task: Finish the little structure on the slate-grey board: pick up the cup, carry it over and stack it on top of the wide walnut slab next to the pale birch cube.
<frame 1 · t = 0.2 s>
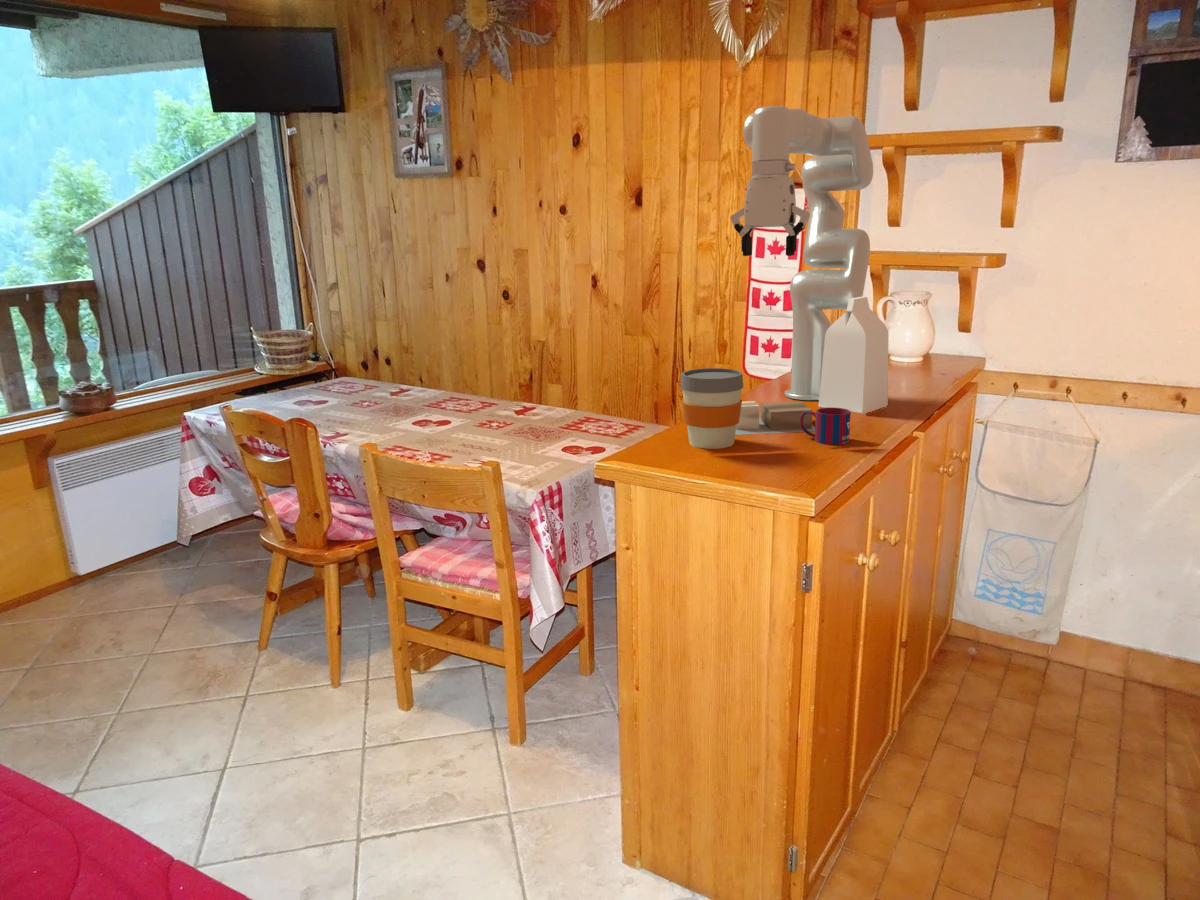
hand: (768, 255, 179), 37 cm above the table, tool pointing down, fingers open, 9 cm apart
walnut slab: (785, 424, 186), point 1 cm above the table, touching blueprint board
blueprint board: (769, 427, 186), on the table
milk: (852, 408, 202), on the table
birch cube: (745, 426, 186), point 1 cm above the table, touching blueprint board
cup: (824, 443, 173), on the table
reusable coffee cup: (711, 446, 173), on the table
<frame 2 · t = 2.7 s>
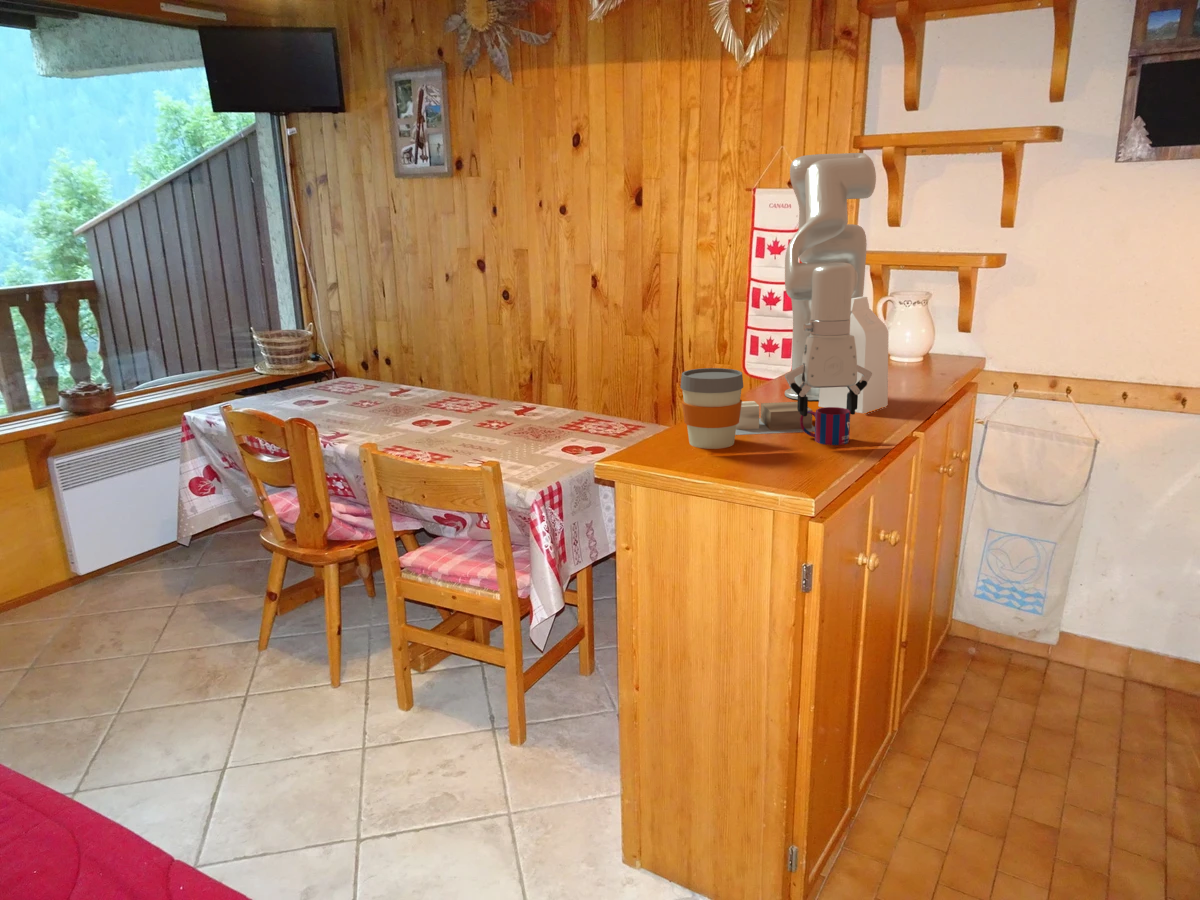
hand: (827, 414, 170), 6 cm above the table, tool pointing down, fingers open, 9 cm apart
cup: (824, 443, 173), on the table, touching gripper
everything else where it was.
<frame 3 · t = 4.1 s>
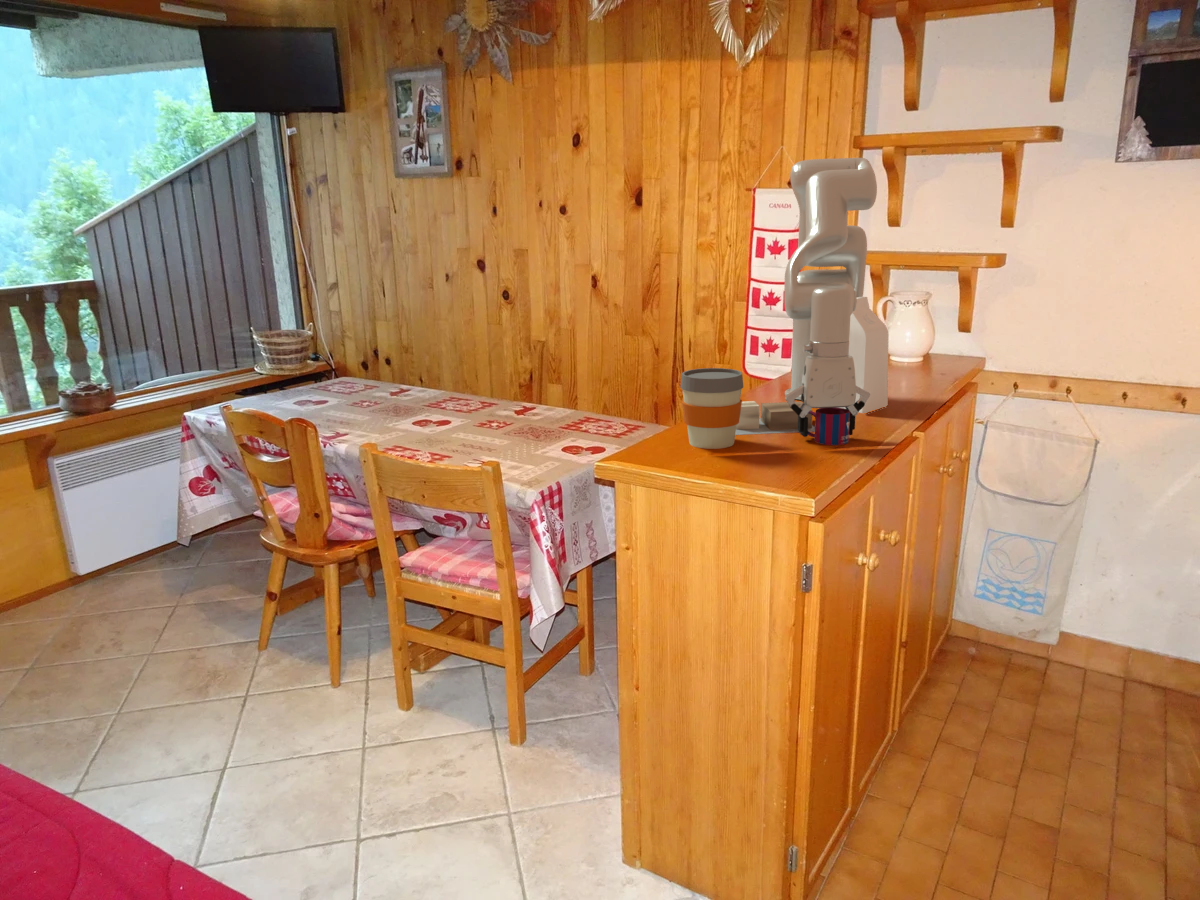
hand: (825, 434, 172), 2 cm above the table, tool pointing down, fingers closed on cup, 8 cm apart
cup: (823, 443, 173), on the table, touching gripper
everything else where it was.
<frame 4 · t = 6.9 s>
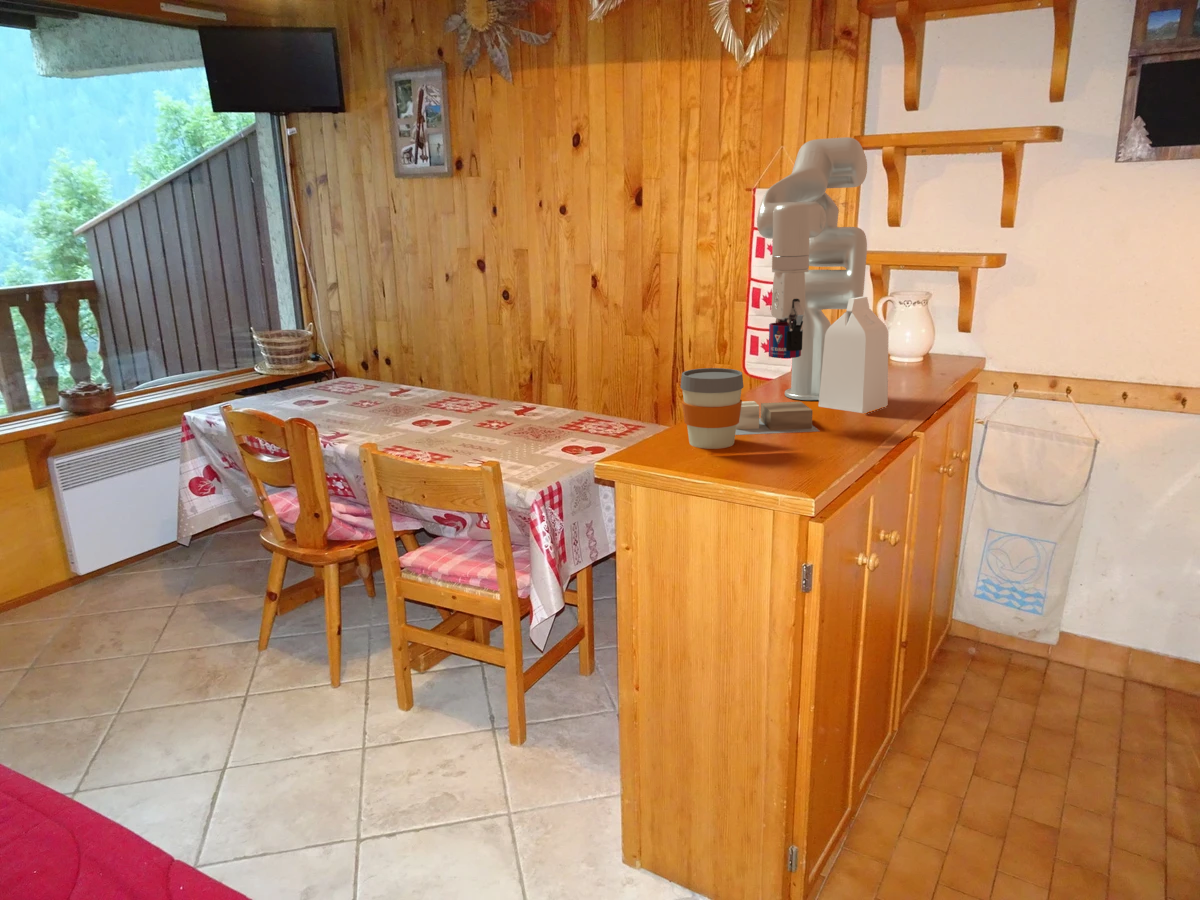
hand: (788, 346, 181), 18 cm above the table, tool pointing down, fingers closed on cup, 8 cm apart
cup: (788, 355, 182), point 16 cm above the table, touching gripper
everything else where it was.
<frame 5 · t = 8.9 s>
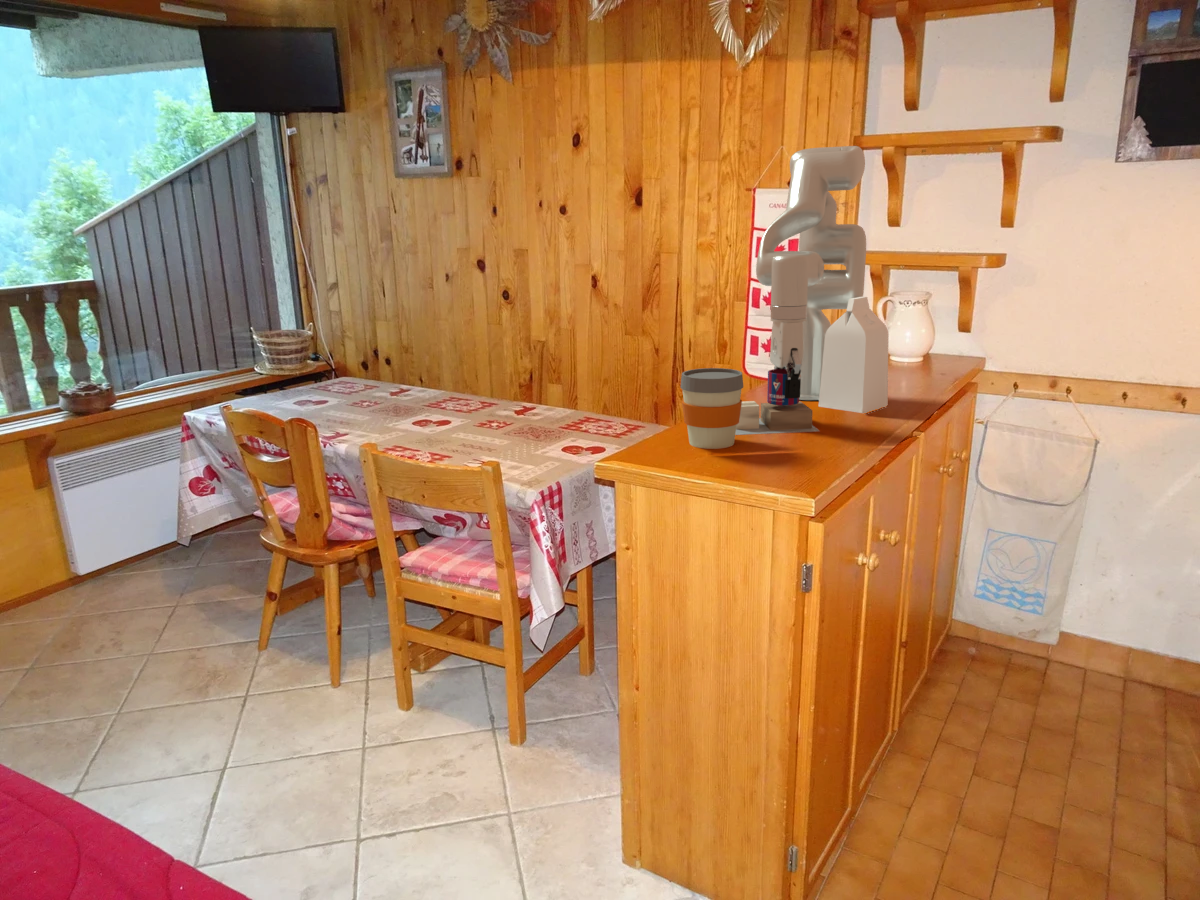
hand: (786, 393, 184), 8 cm above the table, tool pointing down, fingers closed on cup, 8 cm apart
cup: (786, 401, 185), point 6 cm above the table, touching gripper
everything else where it was.
when the fingers open (7 cm above the table, at t = 9.9 s): cup drops 1 cm, resting on walnut slab.
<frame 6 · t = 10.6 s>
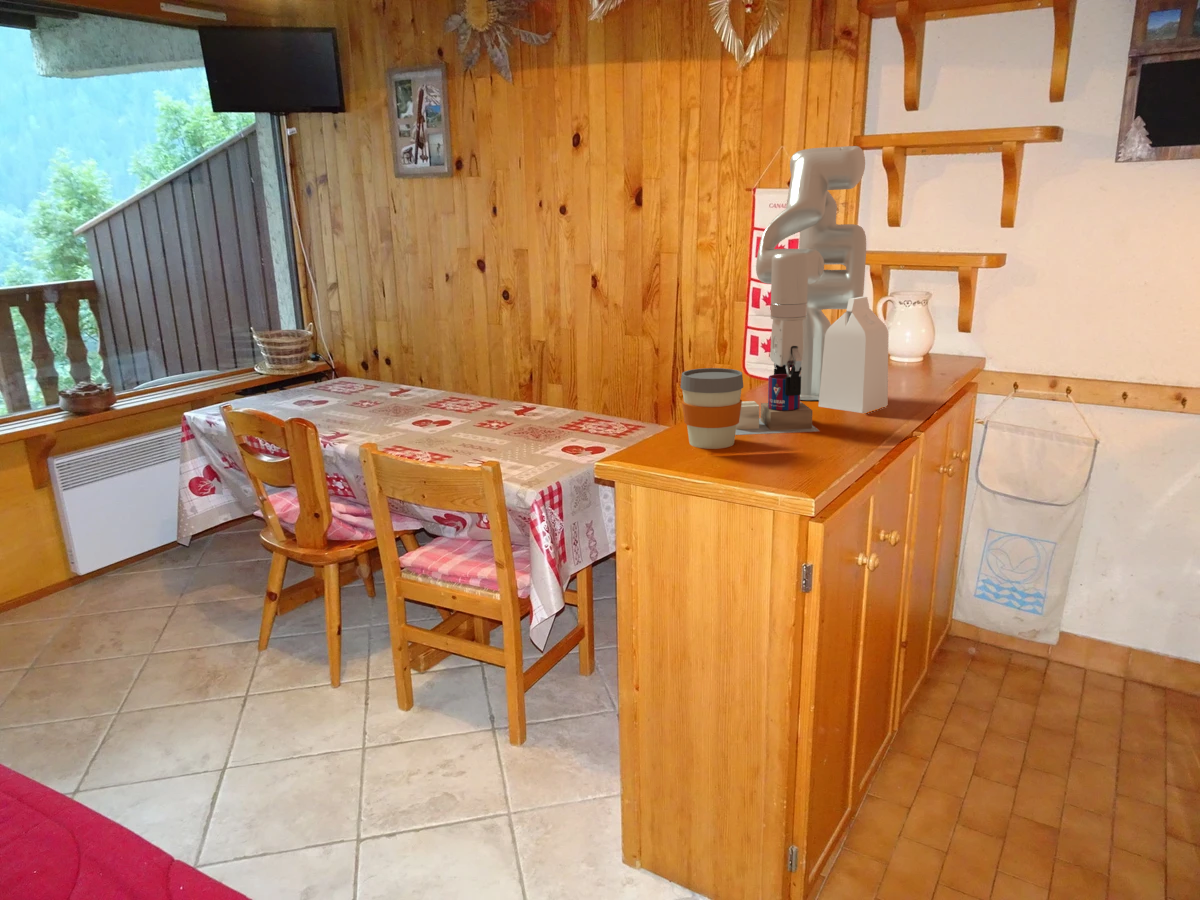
hand: (786, 390, 184), 8 cm above the table, tool pointing down, fingers open, 9 cm apart
walnut slab: (785, 424, 186), point 1 cm above the table, touching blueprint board, cup
cup: (787, 407, 185), point 4 cm above the table, touching gripper, walnut slab
everything else where it was.
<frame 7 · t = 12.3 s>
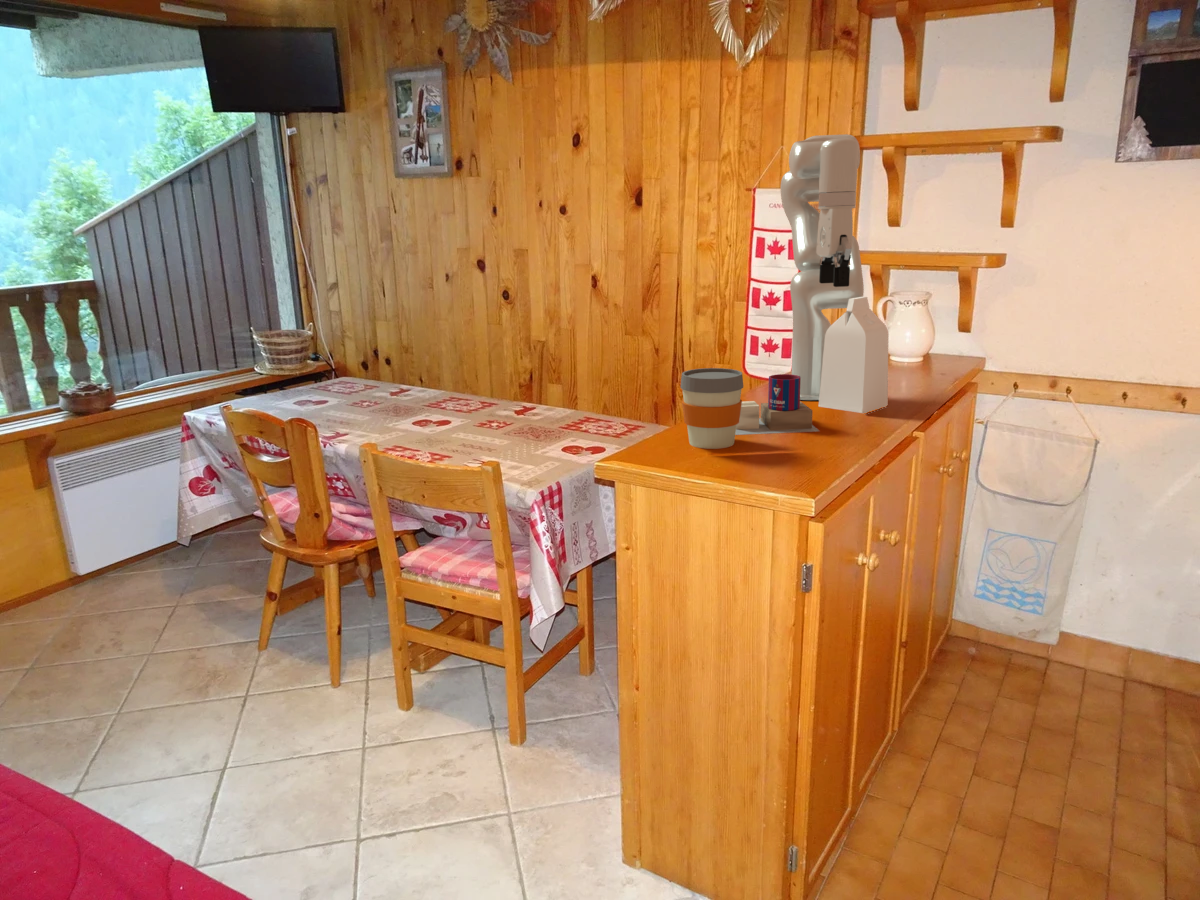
hand: (833, 284, 181), 30 cm above the table, tool pointing down, fingers open, 9 cm apart
cup: (787, 407, 185), point 4 cm above the table, touching walnut slab
everything else where it was.
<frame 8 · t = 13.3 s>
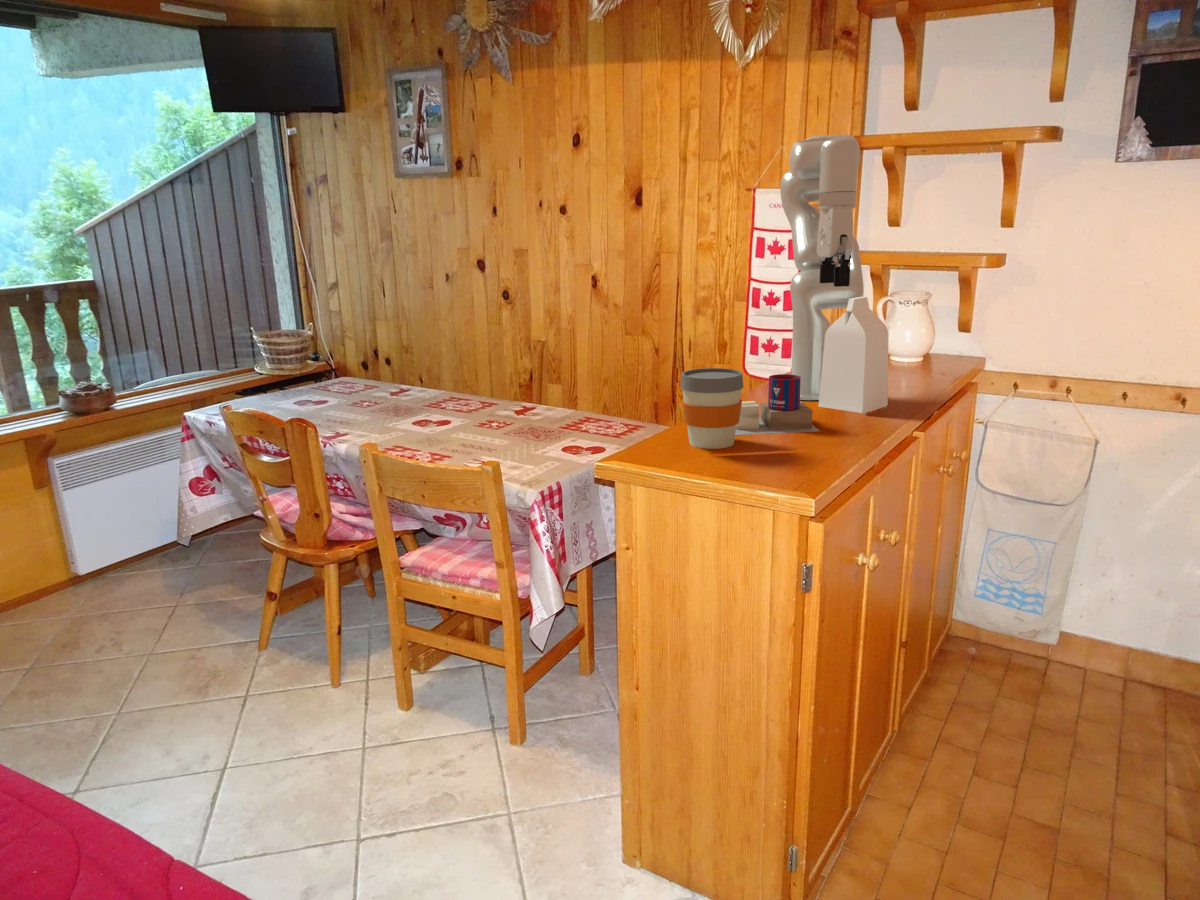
hand: (834, 284, 181), 30 cm above the table, tool pointing down, fingers open, 9 cm apart
nothing on the table moved.
at the end: cup 0.5 cm from the walnut slab (horizontally); cup touching walnut slab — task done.
